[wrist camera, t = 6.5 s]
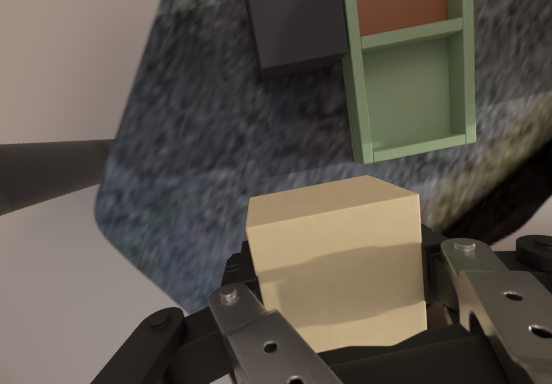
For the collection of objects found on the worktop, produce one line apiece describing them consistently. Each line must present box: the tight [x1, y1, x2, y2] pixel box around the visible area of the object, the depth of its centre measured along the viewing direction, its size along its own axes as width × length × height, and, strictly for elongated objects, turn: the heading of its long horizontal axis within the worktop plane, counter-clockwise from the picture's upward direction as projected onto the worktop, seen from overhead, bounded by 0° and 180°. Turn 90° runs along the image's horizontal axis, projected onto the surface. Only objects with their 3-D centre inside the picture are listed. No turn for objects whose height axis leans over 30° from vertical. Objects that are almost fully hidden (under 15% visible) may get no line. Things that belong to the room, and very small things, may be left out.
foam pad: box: [246, 175, 427, 353], centre depth 11 cm, size 6×6×4 cm
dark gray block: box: [245, 0, 348, 81], centre depth 18 cm, size 6×6×4 cm
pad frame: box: [341, 0, 476, 164], centre depth 19 cm, size 9×17×2 cm, turn 11°
